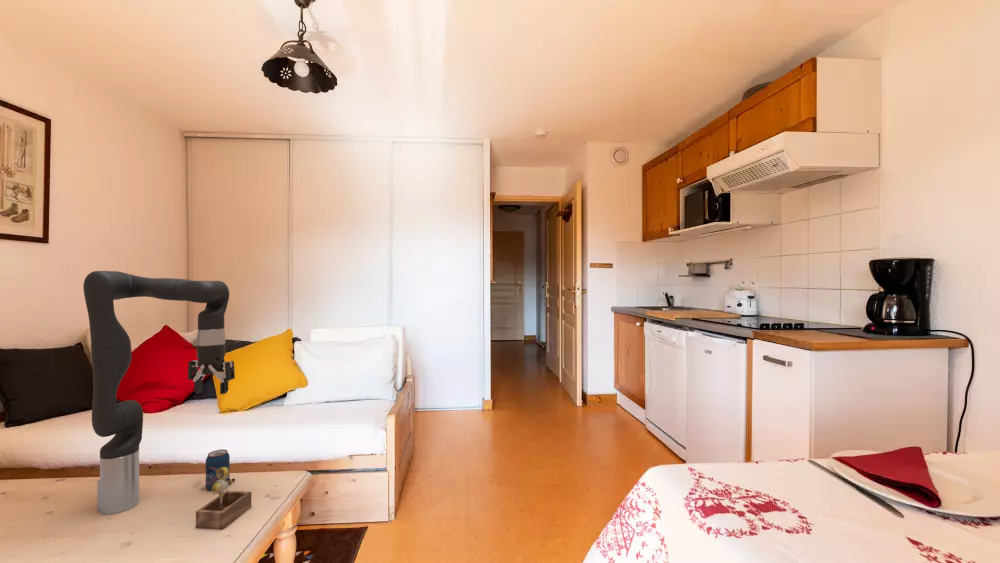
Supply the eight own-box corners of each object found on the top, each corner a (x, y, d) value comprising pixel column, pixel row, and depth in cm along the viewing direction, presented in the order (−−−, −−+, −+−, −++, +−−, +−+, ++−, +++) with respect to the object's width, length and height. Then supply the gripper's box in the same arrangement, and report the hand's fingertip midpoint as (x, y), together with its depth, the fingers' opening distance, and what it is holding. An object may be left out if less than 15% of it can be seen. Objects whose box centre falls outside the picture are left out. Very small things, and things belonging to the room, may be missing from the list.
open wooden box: (195, 528, 120) (195, 511, 120) (226, 505, 132) (226, 490, 132) (222, 530, 120) (222, 513, 120) (251, 507, 132) (251, 491, 132)
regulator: (219, 523, 122) (219, 472, 122) (208, 521, 123) (208, 471, 123) (240, 509, 129) (240, 461, 129) (229, 508, 130) (229, 460, 130)
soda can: (200, 491, 142) (200, 456, 142) (217, 481, 149) (217, 448, 148) (218, 492, 141) (218, 457, 140) (234, 482, 147) (234, 449, 147)
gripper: (180, 344, 130) (180, 395, 130) (223, 345, 128) (223, 397, 128) (200, 340, 137) (200, 389, 137) (240, 341, 136) (240, 390, 136)
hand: (211, 393), depth 133 cm, fingers open, 8 cm apart
